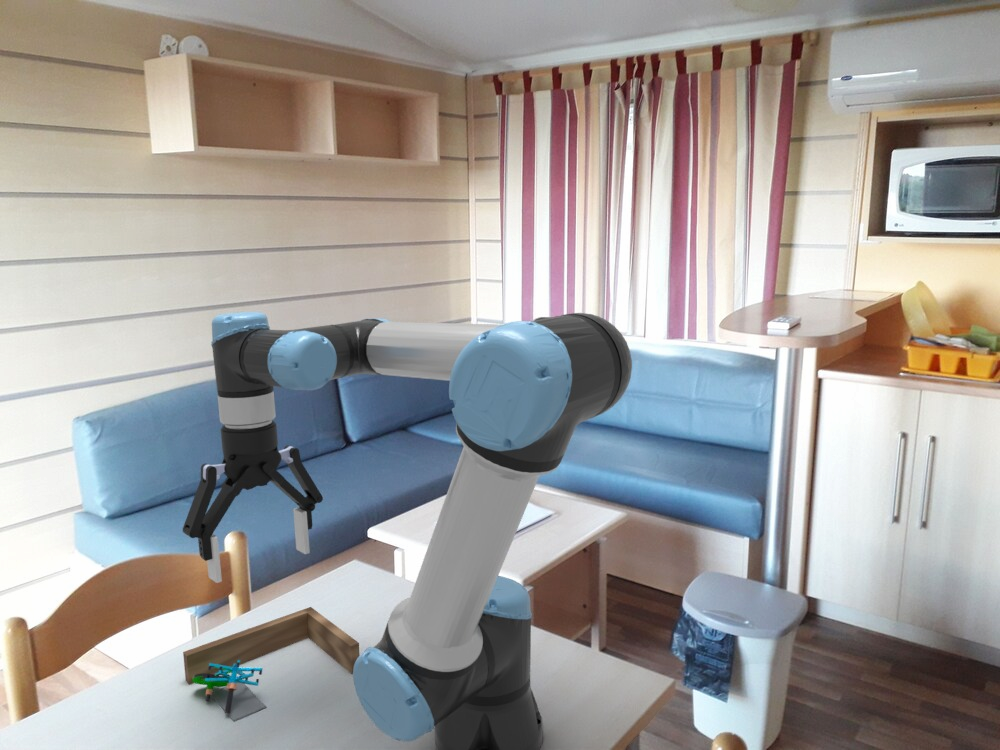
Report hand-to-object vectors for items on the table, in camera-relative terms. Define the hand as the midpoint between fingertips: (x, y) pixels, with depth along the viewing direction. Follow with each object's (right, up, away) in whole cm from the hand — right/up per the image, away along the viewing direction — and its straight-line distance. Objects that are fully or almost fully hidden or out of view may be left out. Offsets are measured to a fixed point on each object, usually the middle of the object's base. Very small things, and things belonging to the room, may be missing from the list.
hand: (260, 565), depth 113 cm
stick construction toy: (-5, -22, +6) cm, 23 cm away
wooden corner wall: (-1, -20, +11) cm, 23 cm away
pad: (-5, -22, +4) cm, 23 cm away
